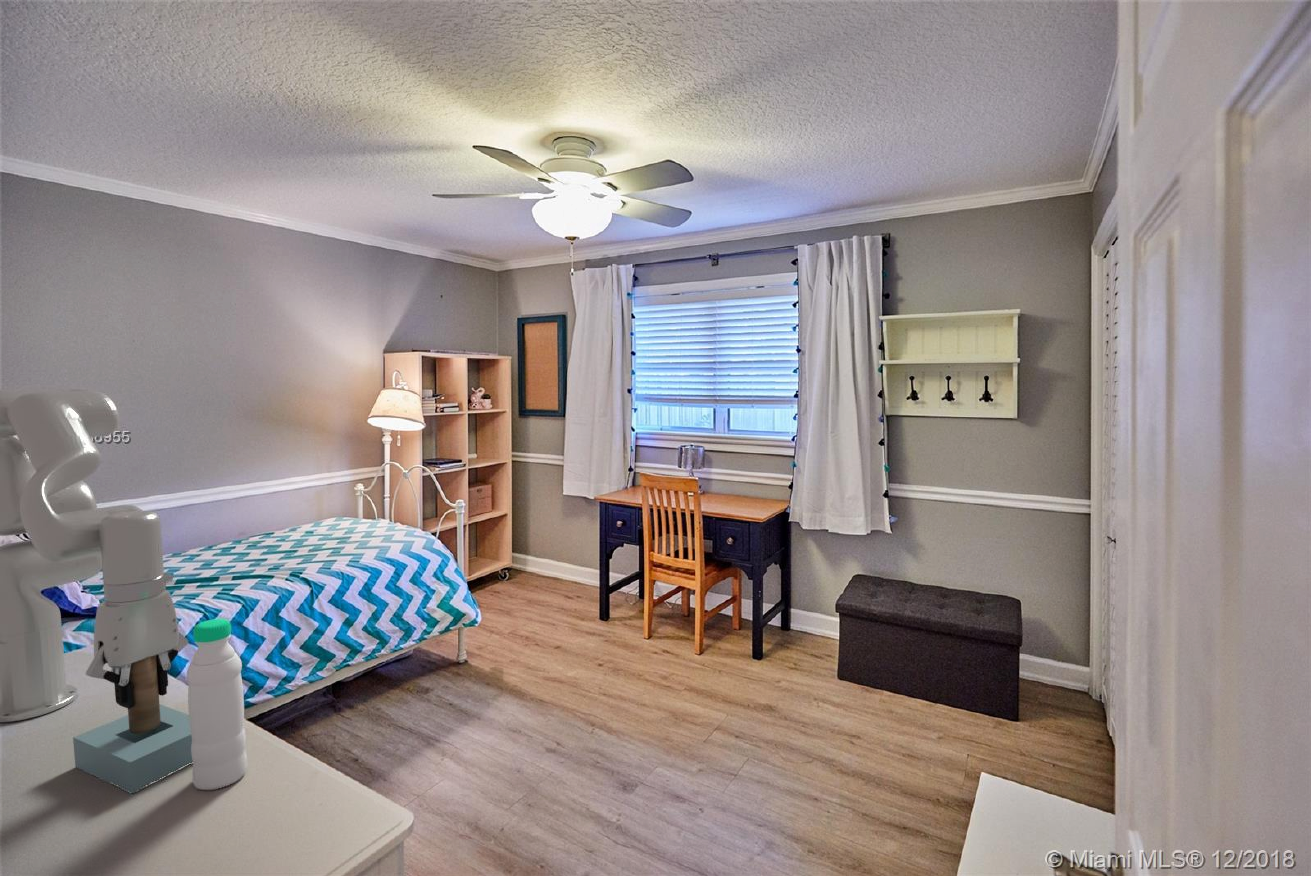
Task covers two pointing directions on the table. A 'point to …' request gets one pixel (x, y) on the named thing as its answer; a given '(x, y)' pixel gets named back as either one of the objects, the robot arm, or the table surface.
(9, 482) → the robot arm
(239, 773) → the water bottle
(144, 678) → the peg
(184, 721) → the socket block
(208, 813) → the table surface
